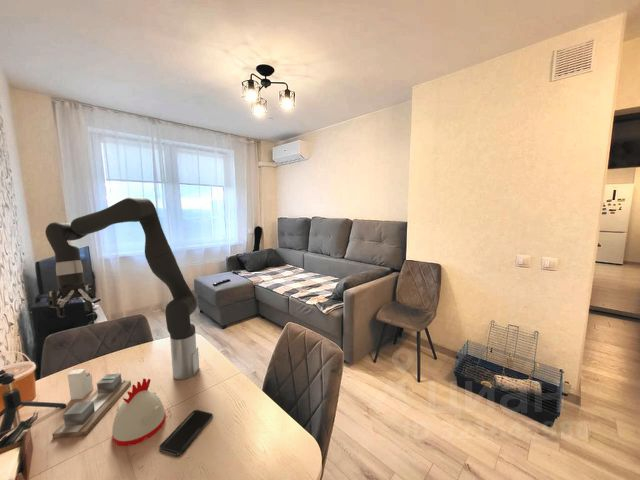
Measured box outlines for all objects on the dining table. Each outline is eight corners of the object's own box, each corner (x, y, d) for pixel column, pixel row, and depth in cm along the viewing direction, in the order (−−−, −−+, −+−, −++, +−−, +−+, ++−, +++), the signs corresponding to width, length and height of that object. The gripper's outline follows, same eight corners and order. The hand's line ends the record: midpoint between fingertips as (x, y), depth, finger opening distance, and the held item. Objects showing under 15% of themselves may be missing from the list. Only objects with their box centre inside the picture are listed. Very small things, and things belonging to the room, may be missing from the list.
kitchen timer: (175, 416, 87) (172, 375, 85) (133, 452, 74) (129, 405, 72) (145, 404, 91) (142, 365, 89) (101, 437, 79) (96, 392, 77)
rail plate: (130, 383, 102) (129, 369, 101) (85, 435, 79) (83, 417, 78) (106, 385, 100) (104, 370, 100) (52, 438, 78) (50, 419, 77)
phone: (157, 448, 74) (194, 409, 89) (157, 451, 75) (194, 411, 89) (179, 455, 72) (214, 414, 87) (179, 459, 72) (214, 417, 87)
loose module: (93, 389, 99) (90, 364, 97) (83, 398, 94) (79, 373, 92) (81, 389, 98) (78, 365, 97) (70, 399, 93) (67, 374, 92)
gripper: (54, 275, 94) (60, 319, 93) (96, 269, 107) (102, 308, 107) (40, 277, 96) (45, 320, 95) (83, 271, 109) (88, 309, 109)
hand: (75, 313), depth 101 cm, fingers open, 8 cm apart
